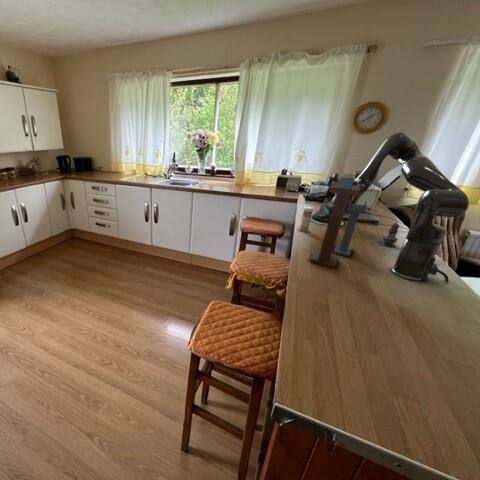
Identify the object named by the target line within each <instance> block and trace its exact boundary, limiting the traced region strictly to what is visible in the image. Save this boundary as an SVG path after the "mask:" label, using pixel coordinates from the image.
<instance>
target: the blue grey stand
mask: <svg viewBox="0 0 480 480" xmlns="http://www.w3.org/2000/svg"><path fill="white" fill-rule="evenodd" d="M351 202H352V200H350V203H349V206H348V209H347V211H348V212H349V216H348V219H347V223H346V226H345V229H344V233H343V236H342V238H341V242H340V244H337V243H336V244H335V247H334V248H335V249H334V250H333V254H335V255H339V256H342V257H343V256H344V257H347V258H350V257H351V254H352V250H353V249H352V247H351V246H350V243H351V240H352V237H353V234H354V231H355V229H356V225H357V222H358V220H359V217H360V216H359V215H360V214H361V215H365V213H366V209H367V207H368V201H365V202H364V204H358V203H357V204H351Z"/></svg>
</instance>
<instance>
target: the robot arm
mask: <svg viewBox="0 0 480 480" xmlns="http://www.w3.org/2000/svg"><path fill="white" fill-rule="evenodd" d="M388 156H389V157H391V158H392V159H394V160H395V161H396V162H397V163H399V164H400V165H401V167H400V173H401V175H402V176H403V178H404V180H405V182H407V183H408V184H409V185H410V186H412V187H414V188H416V189H418V190H420V191H422V192H423V193H421V195H420V196H419V198H418V201H417V203H416V206H415V209H414V212H413V214H412V218H411V220H410V227H409V230H408V232H407V234H406V236H405V239H404V241H403V243H402V247H401V249H400V251H399V253H398V256H397V258H396V260H395V262H394V265H393V267H392V269H391V272H392V273H394V274H395V275H397V276H399V277H401V278H403V279H407V280H410V281H411V280H412V281H418V282H419V281H420V282H426V280H427V278H428V275H432V276H437V274H438V273H439V274H440V275H442V276H443V277H444V281H445V283H449V282H450V279H449V276H448V275H447V274H446V273H445V272H444V271H442V270H440V269H439V267H438V265H437V264H436V263H435V262H436V260H437V259H436V255H437V253H438V251H439V249H440V247H441V244H442V242H443V240H444V238H445V236H446V234H447V231H448V230H447V229H446V228H445V227H443V226H441V225H439V224H436V223H435V222H434V220H435V217H440V218H456V217H460V216H462V215H464V214H465V213H466V212H467V211H468V209H469V206H470V200H469V197H468V195H467V193H466V192H464V191H463V190H462V189H461V188H460V187H459V186H457V185H456V184H454V183H453V182H452V181H451V180H450V179H449V178H447V176H446V175H445V174H443V172H442V171H441V170H440V169H439V168H438V167H437V165H436V164H435V163H434V161H432V160H431V159H430V158H429V157H427V156H426V155H424V154H423V153H422V152H421V150H420V148H419V145H418V144H417V142H416V141H415V140H414V139H413V138H411V137H410V136H408V135H407V134H406V133H404V132H402V131H399V132H395V133H393V134H391V135H390V136H388V137H387V138H386V139H384V141H383V142H382V143H381V145H380V146H379V147H378V148H377V150H376V152H375V153H374V155H373V156H372V158H371V159H370V161H369V162H368V163H367V165H366V166H365V168H364V169H363V170H362V172H361V173H360V174H359V175H358V176H356V177H355V180H354V184H353V185H354V186H361V188H360V191H359V194H358V196H356V195H350V196H349V199H348V203H347V206H346V209H345V212H344V214H348V213H349V214H350V212H348V211H347V209H348V206H349V203H350V200H352V202H351V204H358V203H359V201H360V199H361V198H362V197H363V195H364V194H365V193H366V192H367V191H368V189H370V188H371V187H372V185H373V184H374V183H375V182H376V180H377V178H378V175H379V173H380V169H381V167H382V165H383V162H384V161H385V159H386V158H387V157H388ZM340 180H341V177H339V173H337V172H336V173H334V174H333V176H329V177H328V179H327V186H328V188H330V187H331V186H332V185H333V183H335V184H339V183H340ZM336 195H337V193H335V195H334V196H333V198H332V199H331V206H333V205H334V202H335V198H336Z"/></svg>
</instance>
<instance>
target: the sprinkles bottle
mask: <svg viewBox="0 0 480 480" xmlns="http://www.w3.org/2000/svg"><path fill="white" fill-rule="evenodd" d="M313 212H314V207H313V206H304V207H303V211H302V216H301V220H300V225H299V228H298V230H299V231H300V232H302V233H303V232H304V233H306V232H308V231H309V228H310V224H311V216H312V215H313Z"/></svg>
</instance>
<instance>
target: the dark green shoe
mask: <svg viewBox="0 0 480 480" xmlns="http://www.w3.org/2000/svg"><path fill="white" fill-rule="evenodd" d="M332 209H333V205H330V204H321V205H320V207H319V210H317V211H316V212H314V213H312V216H311V220H310V222H313V223H316V224H319V225H325V226H328V223H329V219H330V216H331V212H332ZM343 225H344V221H342V222H341V225H340V226H343Z"/></svg>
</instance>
